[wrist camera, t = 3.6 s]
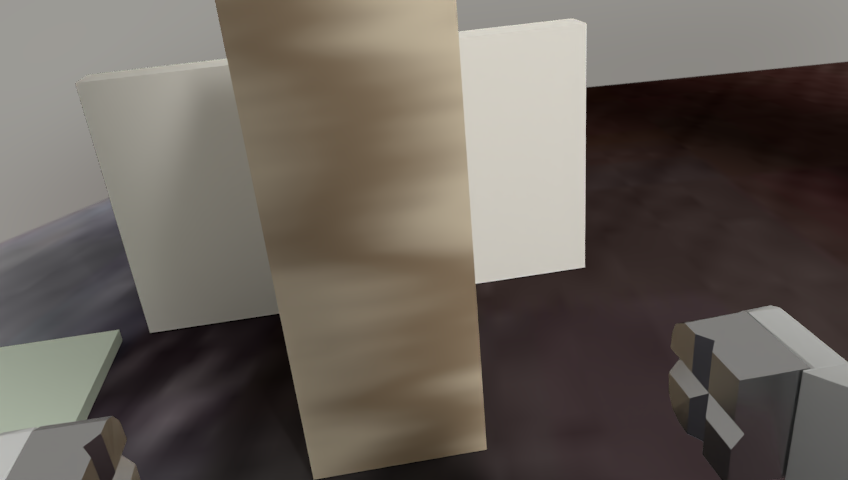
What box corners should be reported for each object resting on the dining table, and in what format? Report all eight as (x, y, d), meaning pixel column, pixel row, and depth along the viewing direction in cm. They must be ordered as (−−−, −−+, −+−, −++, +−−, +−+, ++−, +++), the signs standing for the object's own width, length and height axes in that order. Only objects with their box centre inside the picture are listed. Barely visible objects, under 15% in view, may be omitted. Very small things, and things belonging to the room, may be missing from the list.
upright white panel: (572, 252, 31) (572, 18, 27) (584, 267, 30) (586, 23, 25) (157, 314, 29) (87, 74, 25) (149, 333, 28) (75, 83, 24)
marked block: (453, 349, 25) (415, -80, 19) (486, 449, 20) (450, -82, 14) (313, 371, 25) (230, -62, 19) (313, 479, 20) (203, -57, 14)
